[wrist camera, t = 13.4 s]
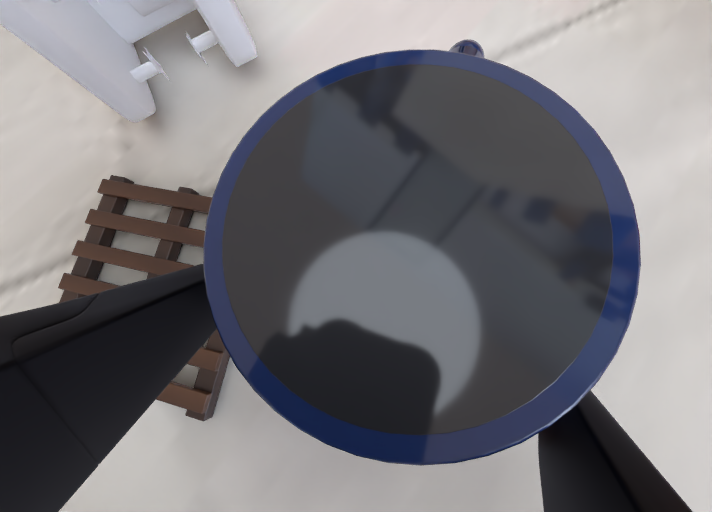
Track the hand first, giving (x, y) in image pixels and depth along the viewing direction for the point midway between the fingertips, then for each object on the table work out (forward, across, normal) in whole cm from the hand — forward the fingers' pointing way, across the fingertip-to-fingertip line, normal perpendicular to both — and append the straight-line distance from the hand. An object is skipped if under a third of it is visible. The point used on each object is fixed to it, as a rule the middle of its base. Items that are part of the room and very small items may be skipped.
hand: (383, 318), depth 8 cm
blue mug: (+7, 0, +3) cm, 7 cm away
